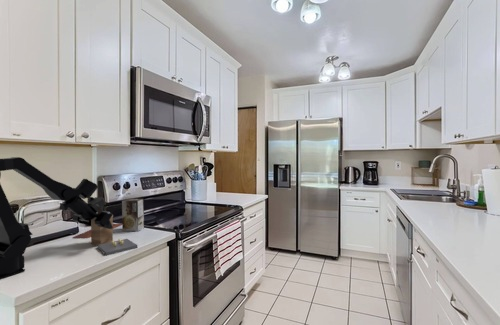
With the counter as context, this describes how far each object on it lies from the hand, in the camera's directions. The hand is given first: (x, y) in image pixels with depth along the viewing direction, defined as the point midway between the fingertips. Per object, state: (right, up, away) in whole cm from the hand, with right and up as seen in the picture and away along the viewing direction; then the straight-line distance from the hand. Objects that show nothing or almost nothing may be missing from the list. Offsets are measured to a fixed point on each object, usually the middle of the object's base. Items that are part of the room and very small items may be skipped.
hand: (104, 227), depth 114 cm
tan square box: (-1, -7, -1) cm, 7 cm away
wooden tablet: (-14, -7, +18) cm, 24 cm away
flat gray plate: (+10, -7, -7) cm, 14 cm away
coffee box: (+4, -7, +20) cm, 22 cm away
